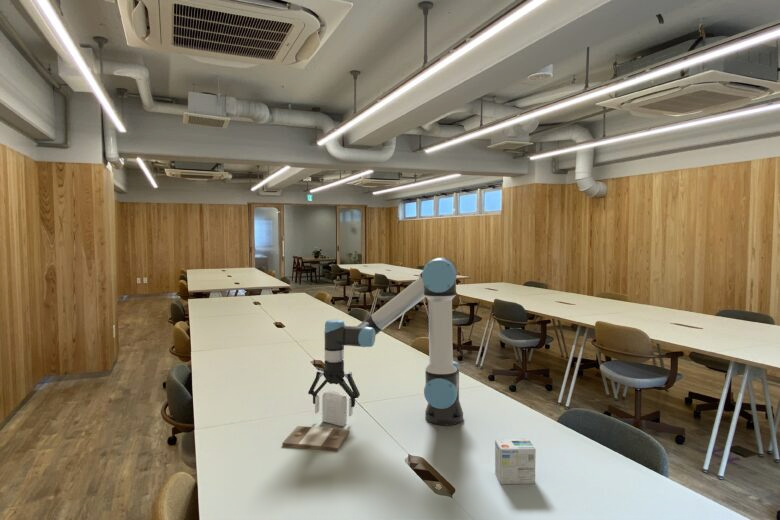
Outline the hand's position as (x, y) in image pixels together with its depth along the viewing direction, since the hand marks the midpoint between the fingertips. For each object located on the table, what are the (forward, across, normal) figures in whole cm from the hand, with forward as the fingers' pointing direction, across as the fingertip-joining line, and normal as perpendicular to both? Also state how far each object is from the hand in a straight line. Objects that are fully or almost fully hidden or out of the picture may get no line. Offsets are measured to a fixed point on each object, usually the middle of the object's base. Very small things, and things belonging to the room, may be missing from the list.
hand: (333, 413), depth 171 cm
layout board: (+4, +2, +15) cm, 16 cm away
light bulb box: (+3, -65, +29) cm, 72 cm away
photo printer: (+4, 0, 0) cm, 4 cm away
